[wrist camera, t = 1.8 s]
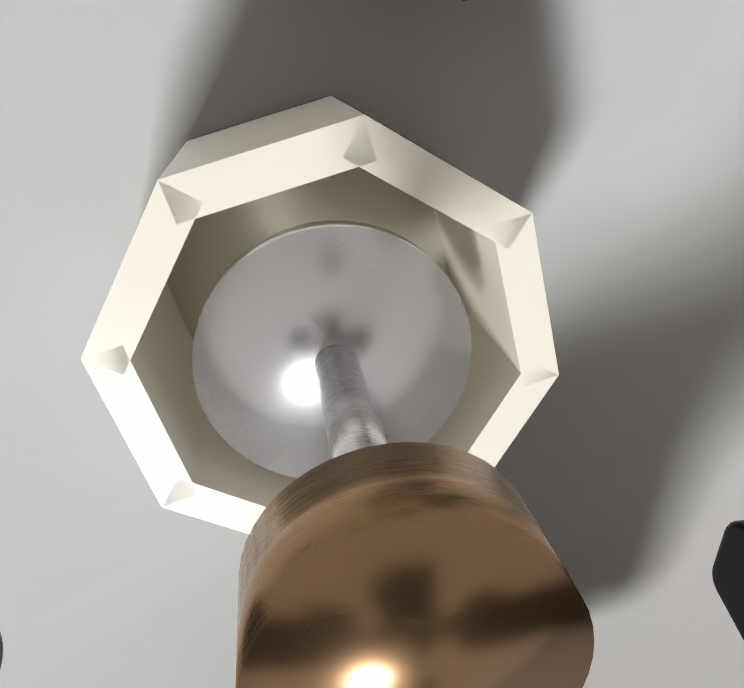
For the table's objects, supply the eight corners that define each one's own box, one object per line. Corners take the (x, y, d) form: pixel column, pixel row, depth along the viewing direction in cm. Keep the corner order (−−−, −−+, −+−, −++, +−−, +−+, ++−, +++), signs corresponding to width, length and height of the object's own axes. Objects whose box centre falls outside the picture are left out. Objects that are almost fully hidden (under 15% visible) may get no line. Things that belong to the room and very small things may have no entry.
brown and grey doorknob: (514, 294, 13) (794, 556, 6) (383, 497, 15) (494, 882, 8) (269, 166, 12) (293, 339, 5) (150, 414, 13) (33, 819, 6)
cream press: (580, 241, 18) (692, 306, 14) (420, 482, 21) (468, 607, 16) (231, 37, 15) (221, 30, 10) (91, 358, 17) (31, 472, 13)
